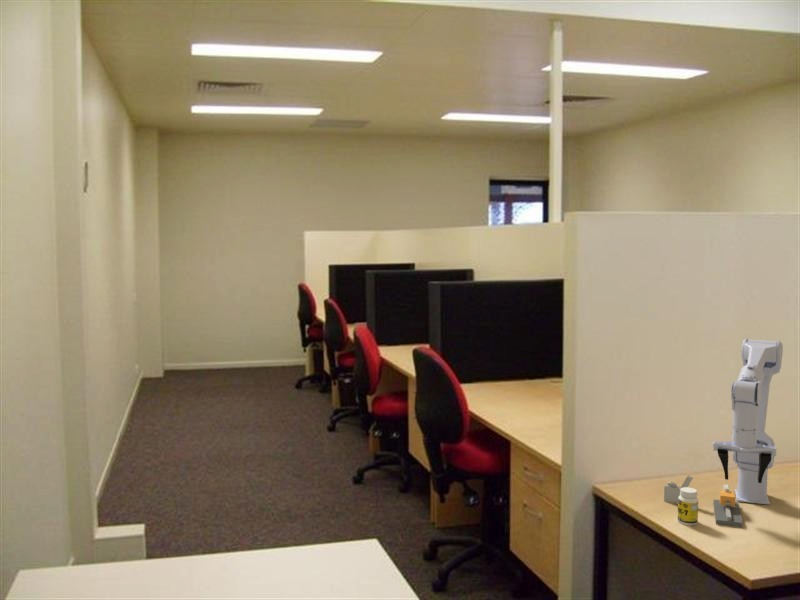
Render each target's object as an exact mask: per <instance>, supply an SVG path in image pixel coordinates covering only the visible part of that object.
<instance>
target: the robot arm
mask: <svg viewBox="0 0 800 600" xmlns="http://www.w3.org/2000/svg"><path fill="white" fill-rule="evenodd" d="M783 349H784V347H783V343H782V341H781V340H765V339H764V340H763V339H753V338H752V339H751V338H744V339H743V341H742V344H741V351H740V352H741V358H742V365H743V366H742V367H741V369H740V372H739V374H738V377H737V380H736V382H734V381H733V382H732V383H731V388H730V398H731V410H732V433H731V435H732V436H731V437H732V438H731V441H718V440H717V441H716V440H714V441H712V451H714V452H717V457H718V458H719V460H720V462H721V464H722V468H723V472H724V480H725V481H727V480H729V452H732V460H733V462H734V464H736V466H737V467H738V471H737V477H738V478H737V488H734V493H735V500H736V502H740V503H741V502H742V503H752V504H760V505H761V504H762V505H770V504H771V503H770V500H769V496H768V473H769V471H768V469H771V468H773V467H774V463H775V457H777V446H776V445H775V444H776V443H775V441H774V439H773V438H772V437H771V436H770V435H768V433H766V424H767V412H768V403H769V396H770V395H769V394H770V386H771V381H772V378H773V376H774V375H777V374H779V373H781V372H780V371H781V369H782V368H781V367H782V362H783V361H782V360H783V355H784V354H783V352H784V350H783Z"/></svg>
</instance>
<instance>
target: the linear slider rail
mask: <svg viewBox="0 0 800 600" xmlns="http://www.w3.org/2000/svg"><path fill="white" fill-rule="evenodd" d="M722 491H728V492H730V485H729V484H723V489H722ZM713 510H714V511H713V512H714V519H715V525H717V524H718V526H725V527H726V526H727V527H734V528H743V519H742V515H741V510H740V506H739V501H735V506H726V505H720V500H719V499H713Z"/></svg>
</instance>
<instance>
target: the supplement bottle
mask: <svg viewBox="0 0 800 600" xmlns="http://www.w3.org/2000/svg"><path fill="white" fill-rule="evenodd" d="M698 519H699V498H698V490H697V489H696V488H693V487H689V486H688V487H683V488H681V489H680V496H679V497H678V504H677V522H678V523H680V524H682V523H683V525H685V524H687V525H686V526H695V525H697V524H698V521H699V520H698Z"/></svg>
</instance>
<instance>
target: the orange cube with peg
mask: <svg viewBox="0 0 800 600" xmlns="http://www.w3.org/2000/svg"><path fill="white" fill-rule="evenodd" d="M718 498H719V499H718V500H720V505H726V506H735V502H736V494H735V491H734V492H733V491H729V492H728V491H723V490H719V497H718Z"/></svg>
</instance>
